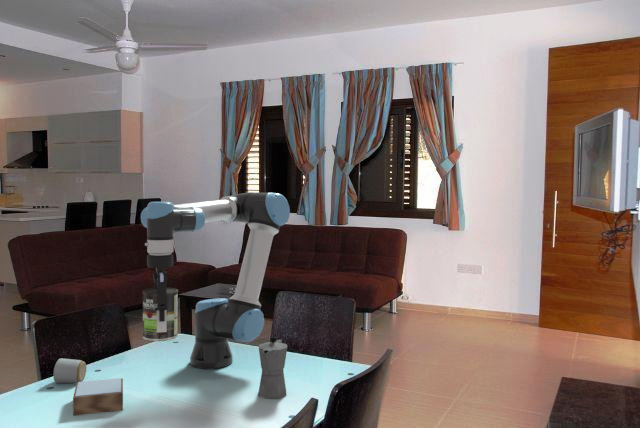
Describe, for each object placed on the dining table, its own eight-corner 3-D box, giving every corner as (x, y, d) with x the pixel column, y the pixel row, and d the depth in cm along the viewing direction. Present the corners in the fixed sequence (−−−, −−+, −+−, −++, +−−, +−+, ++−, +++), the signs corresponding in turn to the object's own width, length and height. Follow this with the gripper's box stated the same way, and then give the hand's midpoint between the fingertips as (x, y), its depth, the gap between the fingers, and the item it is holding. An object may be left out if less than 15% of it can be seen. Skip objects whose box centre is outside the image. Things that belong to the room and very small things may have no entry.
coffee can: (163, 343, 162) (163, 294, 161) (135, 339, 166) (134, 291, 165) (185, 334, 171) (185, 288, 171) (157, 331, 175) (157, 286, 175)
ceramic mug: (78, 386, 179) (79, 362, 179) (52, 386, 179) (52, 362, 178) (91, 375, 189) (91, 353, 189) (66, 375, 189) (66, 353, 189)
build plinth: (122, 394, 172) (122, 377, 172) (122, 410, 160) (122, 391, 160) (76, 399, 168) (76, 381, 168) (73, 415, 156) (73, 396, 156)
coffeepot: (278, 403, 167) (279, 343, 166) (249, 399, 170) (250, 340, 169) (296, 386, 182) (297, 331, 181) (269, 382, 185) (270, 328, 184)
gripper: (145, 249, 177) (145, 319, 178) (148, 258, 155) (149, 338, 157) (170, 249, 179) (170, 318, 180) (176, 257, 158) (176, 336, 159)
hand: (160, 327), depth 168 cm, fingers closed on coffee can, 10 cm apart
